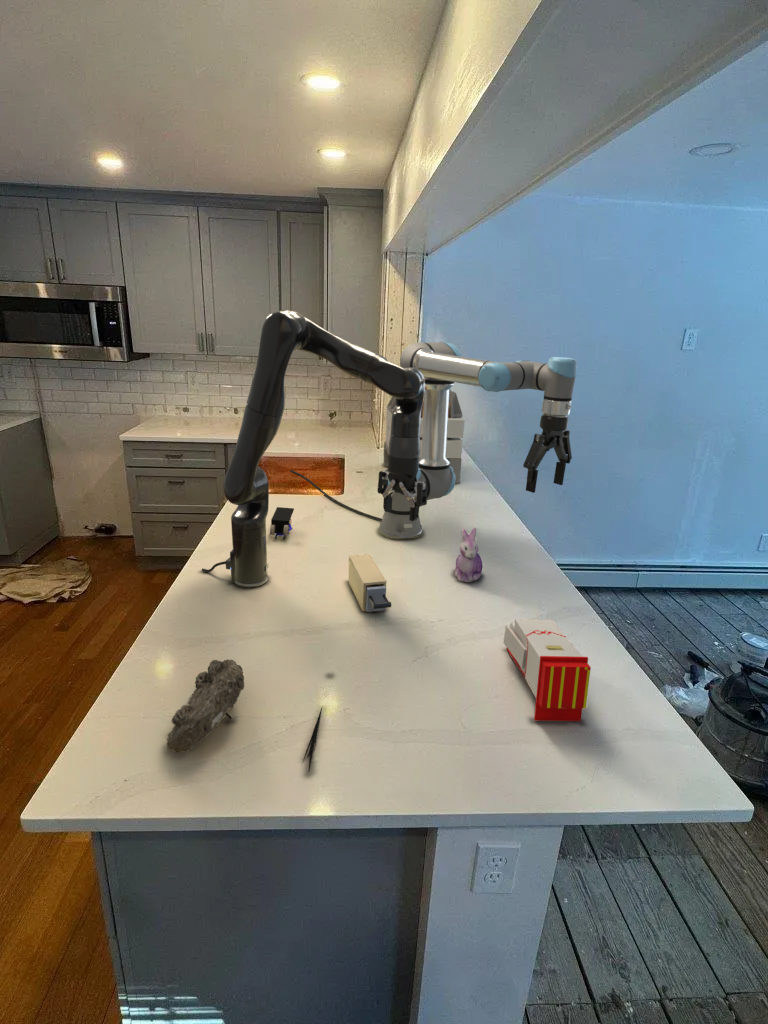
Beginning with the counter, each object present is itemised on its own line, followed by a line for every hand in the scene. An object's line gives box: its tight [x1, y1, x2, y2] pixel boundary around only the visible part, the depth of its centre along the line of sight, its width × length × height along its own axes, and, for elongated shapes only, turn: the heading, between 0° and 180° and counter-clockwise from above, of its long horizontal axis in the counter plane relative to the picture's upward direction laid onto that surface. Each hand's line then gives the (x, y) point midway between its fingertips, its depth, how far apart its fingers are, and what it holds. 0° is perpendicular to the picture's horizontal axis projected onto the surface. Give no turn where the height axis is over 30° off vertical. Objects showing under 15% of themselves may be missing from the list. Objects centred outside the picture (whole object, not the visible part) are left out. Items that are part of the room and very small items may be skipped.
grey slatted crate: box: [383, 388, 465, 484], centre depth 268 cm, size 34×33×41 cm
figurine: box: [454, 527, 484, 583], centre depth 168 cm, size 9×10×15 cm
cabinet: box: [347, 553, 387, 612], centre depth 155 cm, size 17×6×8 cm, turn 16°
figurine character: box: [269, 506, 295, 540], centre depth 194 cm, size 7×8×15 cm
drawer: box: [365, 584, 392, 613], centre depth 150 cm, size 22×5×6 cm, turn 16°
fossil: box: [166, 658, 245, 754], centre depth 106 cm, size 22×10×15 cm
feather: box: [301, 673, 332, 771], centre depth 108 cm, size 2×28×2 cm
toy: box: [503, 618, 592, 722], centre depth 122 cm, size 12×13×30 cm
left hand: (400, 515), depth 143 cm, fingers open, 8 cm apart
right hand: (544, 487), depth 165 cm, fingers open, 13 cm apart
